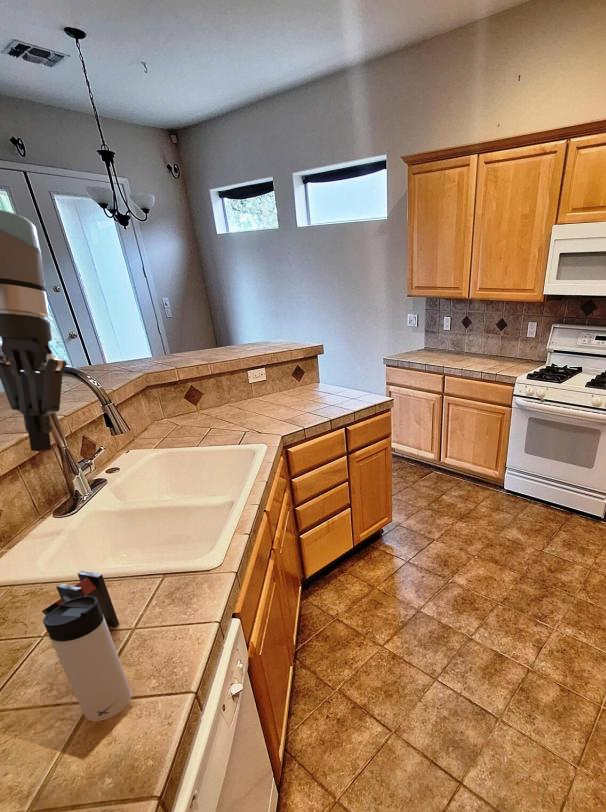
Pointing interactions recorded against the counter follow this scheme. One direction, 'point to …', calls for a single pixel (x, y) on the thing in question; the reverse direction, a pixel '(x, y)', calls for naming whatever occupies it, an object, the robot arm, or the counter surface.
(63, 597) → the bracket
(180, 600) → the counter surface
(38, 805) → the counter surface
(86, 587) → the lever
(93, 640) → the travel mug
